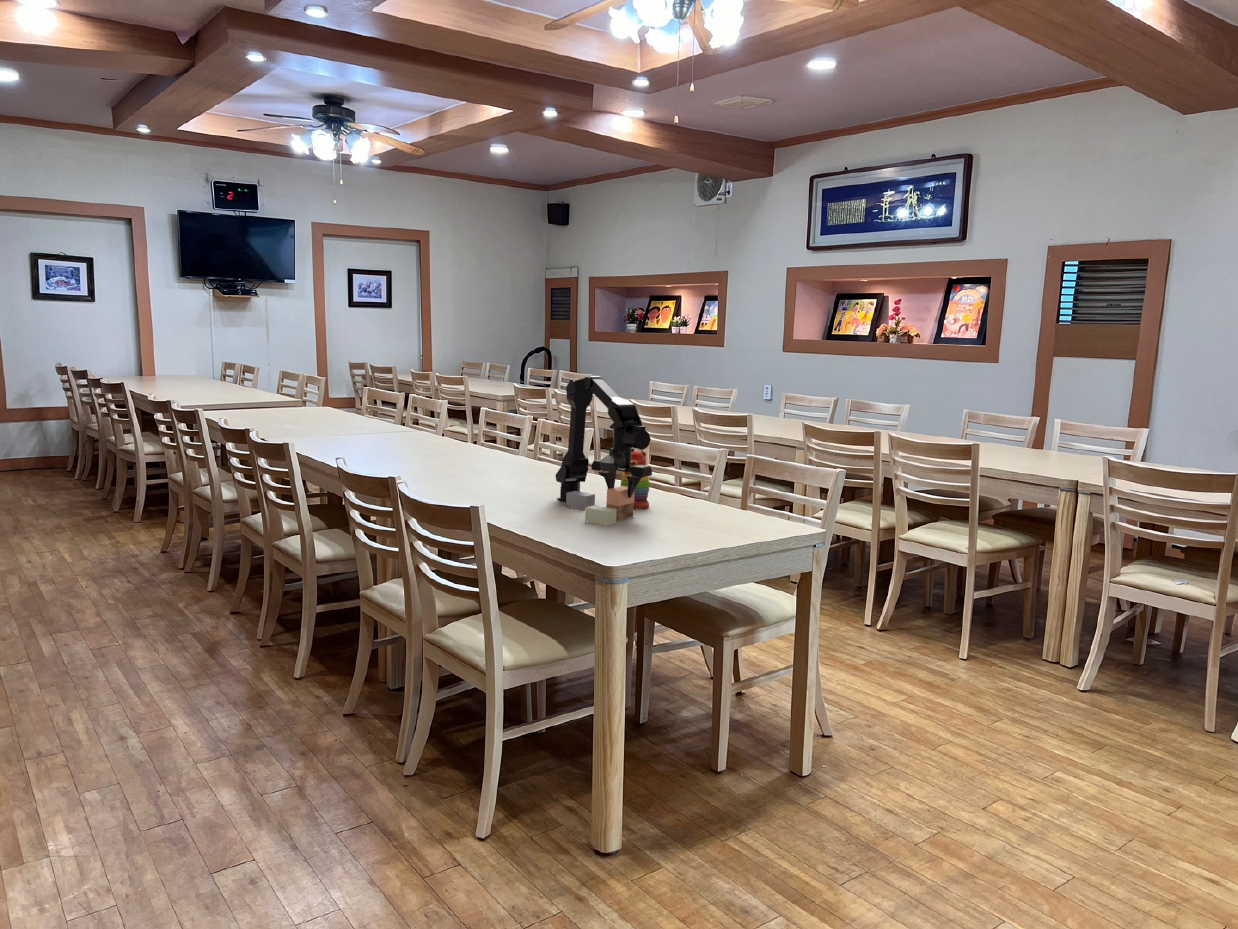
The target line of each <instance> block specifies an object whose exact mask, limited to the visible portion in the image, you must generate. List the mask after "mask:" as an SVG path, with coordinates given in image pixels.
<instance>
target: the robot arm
mask: <svg viewBox="0 0 1238 929" xmlns="http://www.w3.org/2000/svg"><path fill="white" fill-rule="evenodd" d="M565 390H566V391H565V392H566V400H567V402H568V405H570V418H569V419H570V421H569V431H568V432H569V434H568V446H567V451H566V453H565V455H564V456H563V457H562V458H561V459H562V461H561V466H560V468H559V469H558V470H557V472H556V473H555V481H556V482H558V483H560V491H559V492H560V494H559V495H560V496H559V497H556V500H557V501H563V502H566V493H568V492H572V491H579V492H581V483H585V482H586V480H587V479H586V478H587V475H588V472H589V462H590V461H589V458H587V457H586V455H585V453H584V446H585V433H586V419H587V418H586V417H587V408H588V407H589V406H590V404H591V402H592V401H593V396H595V397H596V398H598V400H599V401H600V402H601V403H602V404H603V405H604V406H605V407H606V409H607V414H608V416H609V418H610V419H611V421H612V424H610V426H609V429H611V430H612V431H613V432H612V433H613V434H612V448H611V447H610V449H609V453H608V455H605V456H604V457H603V458H601V459H596V460H593V461H592V463H591V471H598V472H597V473H598V474H599V475H601V476H602V477H603V479H604V481H605V484H606V487H607V489H610V488H615V484H616V476H617V472H623V473H624V472H630V476H626V477H627V480H628V498H631V496H632V494H633V492H634V490H635V488H636V486H637V484H638V483H639V481H640V480H641V478H643V477H646V476H648V477H651V476H652V475H653V469H652V467H651V466H650V465H646V464H645V465H637V466H632V465H633V464H634V462H631V454H632V452H634V451H635V449H636V450H641V451H642V450H643V451H644V450H646V449H647V448H648V447H649V445H650V443H651V436H650V433H649V432H648V430H646V426H645V425H643V423H642V419H641V417H640V415H639V412H638V409H637V407H636V405H635V404H634V403H633V402H631V401H630V400H627V399H625V398H621V397H620V396H619V395H618V394H617V393H616V392H615V391H614V390H613V389H612V388H611V387H610V386H609V384H607V383H606V382H605V380H604V379H603V377H602V376H600V375H588V376H586V377H582V378H579V379H577V380H569V382H568V383H567V384H566V388H565Z"/></svg>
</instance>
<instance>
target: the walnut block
mask: <svg viewBox="0 0 1238 929" xmlns="http://www.w3.org/2000/svg"><path fill="white" fill-rule="evenodd" d="M605 507H607V508H612V509H617V510H616V522H617V521H622V519H623V520H625V518H626V519H629V518H628V517H630V518H633V517H634V509H635V508H634V503H630V504H625V505H621V506H615V505H610V504H606V505H605ZM632 516H633V517H632Z"/></svg>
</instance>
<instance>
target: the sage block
mask: <svg viewBox="0 0 1238 929" xmlns="http://www.w3.org/2000/svg"><path fill="white" fill-rule="evenodd" d="M584 510H585V512H584V522H585V521H588V522H592V523H591V524H593V523H596V524H595V525H598V524H601V525H600V526H603V525H606V526H605V527H608V525H610V526H612V524H613V525H616V524H617V520H616V510H617V509H612V508H607V507H606V506H600V505H596V504H595V505H594V506H590V507H585V509H584ZM588 522H587V523H588ZM615 523H616V524H615Z"/></svg>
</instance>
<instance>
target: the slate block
mask: <svg viewBox="0 0 1238 929" xmlns="http://www.w3.org/2000/svg"><path fill="white" fill-rule="evenodd" d="M565 502H566V503H565V507H568V506H570V507H569V508H574V507H576V508H575V509H579V508H581V509H580V510H585V507H590V506H594V505H596V504H595V503H596V494H595V493H590V492H584V491H580V492H579V491H572V492H568V493H566V501H565Z"/></svg>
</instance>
